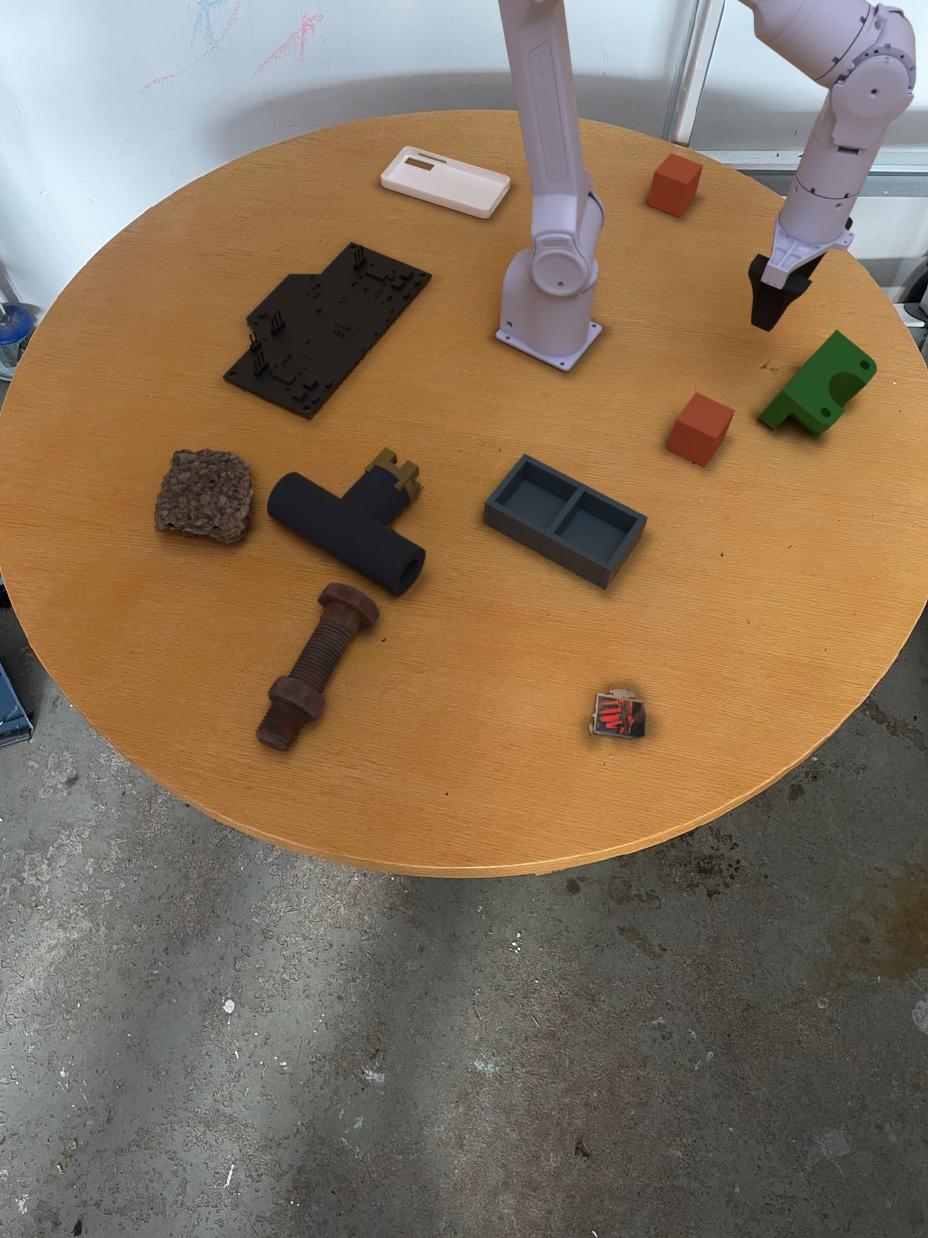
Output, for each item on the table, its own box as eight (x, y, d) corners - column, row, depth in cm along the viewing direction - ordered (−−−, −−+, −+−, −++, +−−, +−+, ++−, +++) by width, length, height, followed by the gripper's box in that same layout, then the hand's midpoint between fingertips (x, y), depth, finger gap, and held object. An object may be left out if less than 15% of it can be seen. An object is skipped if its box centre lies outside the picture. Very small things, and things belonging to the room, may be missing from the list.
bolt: (271, 755, 75) (351, 614, 81) (310, 766, 72) (390, 619, 78) (228, 722, 71) (315, 577, 77) (268, 733, 68) (355, 581, 74)
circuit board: (310, 421, 91) (305, 401, 88) (201, 370, 94) (194, 349, 92) (431, 279, 101) (431, 257, 99) (330, 238, 105) (327, 216, 102)
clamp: (789, 463, 94) (817, 443, 85) (747, 427, 95) (770, 404, 86) (864, 380, 94) (899, 351, 85) (821, 344, 94) (852, 312, 85)
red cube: (666, 448, 90) (676, 419, 86) (685, 421, 91) (695, 391, 87) (704, 467, 88) (716, 438, 85) (723, 439, 90) (735, 410, 86)
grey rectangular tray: (483, 523, 85) (484, 502, 82) (522, 474, 88) (524, 452, 85) (605, 590, 81) (610, 571, 78) (641, 537, 84) (648, 516, 81)
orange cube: (647, 204, 108) (654, 170, 104) (663, 185, 110) (671, 152, 106) (678, 217, 107) (687, 184, 103) (694, 198, 109) (703, 164, 105)
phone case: (379, 186, 110) (487, 220, 107) (378, 176, 108) (487, 210, 105) (406, 154, 113) (511, 186, 110) (405, 144, 112) (512, 176, 109)
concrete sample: (245, 564, 83) (233, 534, 78) (144, 547, 83) (126, 517, 79) (279, 470, 88) (269, 437, 84) (184, 455, 89) (169, 422, 84)
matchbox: (650, 737, 74) (651, 735, 74) (591, 743, 74) (592, 741, 74) (639, 687, 77) (640, 685, 76) (582, 693, 76) (583, 691, 76)
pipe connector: (340, 417, 84) (465, 489, 80) (346, 451, 89) (466, 521, 85) (261, 496, 80) (390, 576, 76) (273, 528, 85) (395, 605, 81)
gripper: (840, 242, 71) (784, 364, 83) (903, 151, 77) (843, 278, 89) (761, 209, 73) (717, 333, 85) (829, 124, 78) (779, 251, 90)
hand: (777, 303), depth 87 cm, fingers open, 7 cm apart
